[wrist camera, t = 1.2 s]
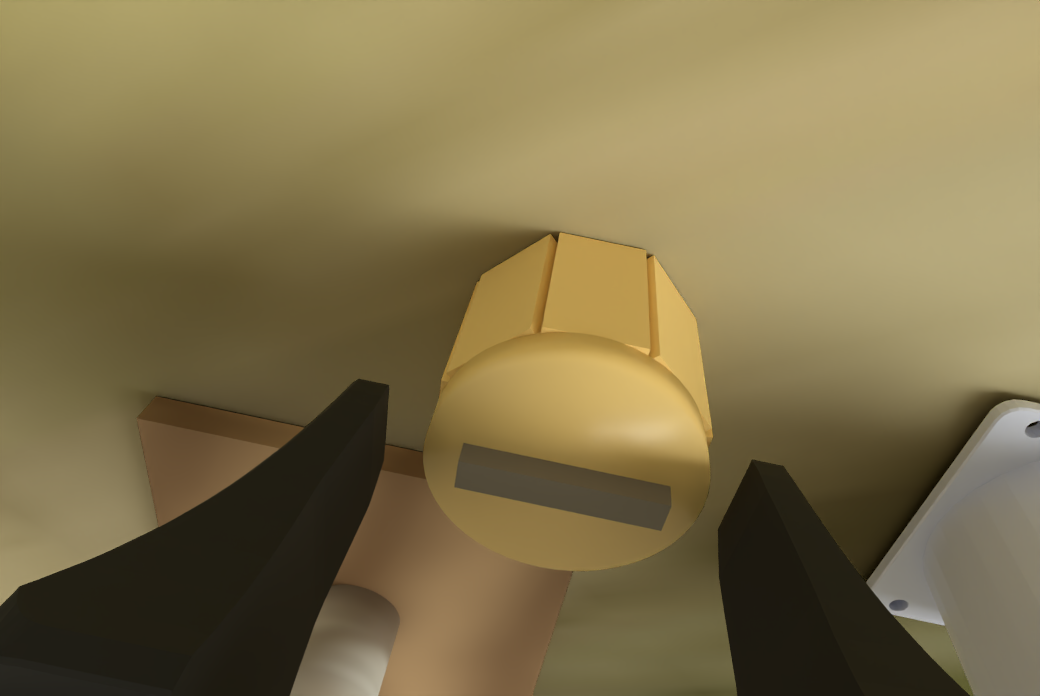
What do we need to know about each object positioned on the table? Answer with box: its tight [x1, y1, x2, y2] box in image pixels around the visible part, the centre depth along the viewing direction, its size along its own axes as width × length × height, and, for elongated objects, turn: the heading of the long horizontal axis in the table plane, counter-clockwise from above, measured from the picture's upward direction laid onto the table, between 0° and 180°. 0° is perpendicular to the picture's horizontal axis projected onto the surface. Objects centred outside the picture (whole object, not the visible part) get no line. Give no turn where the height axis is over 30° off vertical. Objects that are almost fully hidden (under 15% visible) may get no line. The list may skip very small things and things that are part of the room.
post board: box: [137, 396, 573, 696], centre depth 23 cm, size 13×14×4 cm
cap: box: [423, 232, 713, 571], centre depth 15 cm, size 6×6×5 cm
